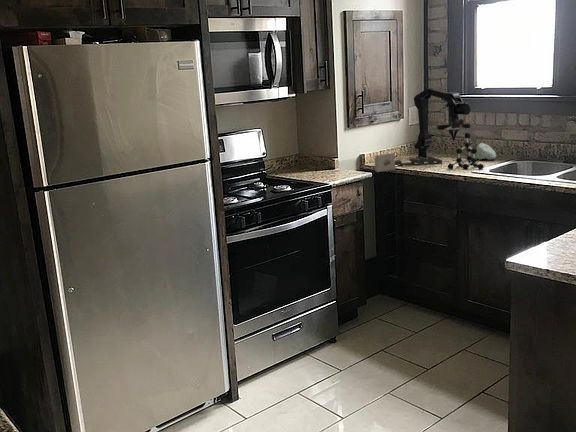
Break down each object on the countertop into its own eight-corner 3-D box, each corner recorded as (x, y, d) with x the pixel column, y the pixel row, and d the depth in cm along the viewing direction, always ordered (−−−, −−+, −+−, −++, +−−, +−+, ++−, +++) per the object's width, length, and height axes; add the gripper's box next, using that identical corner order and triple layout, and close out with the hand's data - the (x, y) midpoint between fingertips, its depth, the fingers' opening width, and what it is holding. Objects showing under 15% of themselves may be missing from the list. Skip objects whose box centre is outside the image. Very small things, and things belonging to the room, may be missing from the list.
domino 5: (441, 163, 373) (429, 159, 372) (439, 162, 378) (427, 158, 377) (442, 160, 372) (430, 156, 372) (440, 159, 377) (428, 155, 377)
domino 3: (423, 164, 373) (410, 161, 373) (422, 163, 378) (409, 160, 378) (424, 161, 373) (411, 158, 372) (422, 160, 378) (410, 157, 377)
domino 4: (433, 164, 373) (420, 160, 372) (431, 162, 378) (418, 159, 377) (434, 161, 373) (421, 157, 372) (432, 159, 377) (419, 156, 377)
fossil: (378, 172, 359) (377, 155, 357) (374, 171, 362) (374, 155, 360) (395, 169, 364) (395, 153, 362) (392, 168, 367) (391, 152, 365)
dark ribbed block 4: (415, 166, 374) (402, 167, 373) (413, 164, 378) (399, 165, 378) (415, 163, 373) (401, 164, 373) (412, 161, 378) (399, 163, 378)
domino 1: (401, 164, 373) (388, 165, 373) (399, 163, 378) (386, 163, 378) (401, 161, 373) (388, 162, 372) (399, 160, 378) (386, 160, 377)
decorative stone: (469, 158, 382) (472, 147, 374) (482, 150, 386) (485, 138, 378) (486, 170, 375) (488, 159, 367) (498, 162, 379) (501, 150, 371)
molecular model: (483, 170, 345) (483, 134, 341) (446, 169, 355) (446, 134, 350) (489, 164, 360) (489, 129, 356) (454, 164, 370) (454, 130, 365)
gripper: (440, 116, 363) (440, 143, 367) (472, 114, 362) (472, 141, 366) (436, 114, 374) (436, 141, 377) (467, 112, 373) (467, 139, 377)
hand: (453, 140), depth 374 cm, fingers closed
